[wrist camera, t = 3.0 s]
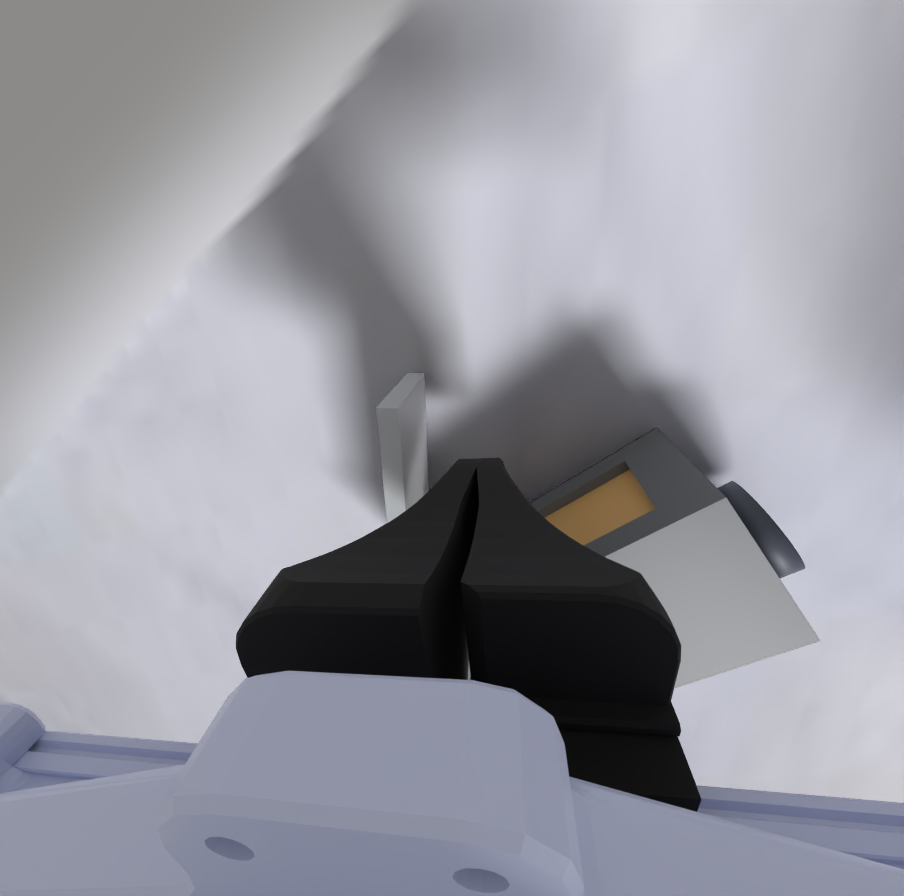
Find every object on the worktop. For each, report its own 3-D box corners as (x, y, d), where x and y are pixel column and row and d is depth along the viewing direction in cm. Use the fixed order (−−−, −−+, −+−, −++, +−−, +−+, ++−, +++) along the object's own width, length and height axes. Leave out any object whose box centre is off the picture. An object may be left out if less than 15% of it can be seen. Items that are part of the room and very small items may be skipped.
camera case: (678, 414, 13) (774, 491, 8) (754, 529, 14) (867, 646, 10) (444, 553, 17) (424, 657, 12) (523, 632, 18) (531, 749, 14)
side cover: (404, 371, 13) (366, 411, 9) (429, 371, 13) (401, 412, 9) (416, 560, 17) (391, 643, 13) (435, 561, 17) (417, 645, 13)
